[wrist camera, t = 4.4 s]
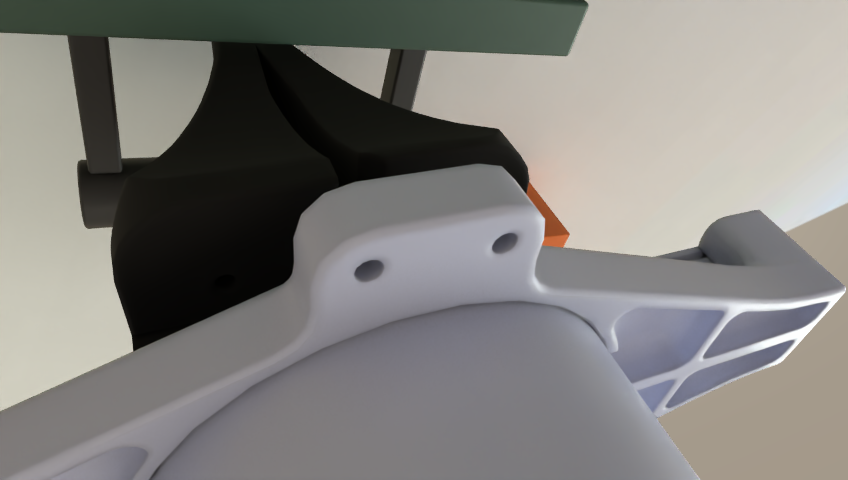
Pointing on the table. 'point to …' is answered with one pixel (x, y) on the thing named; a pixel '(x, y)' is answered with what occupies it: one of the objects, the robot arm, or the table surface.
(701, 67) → the table surface
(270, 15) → the drawer
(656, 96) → the table surface
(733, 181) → the table surface
